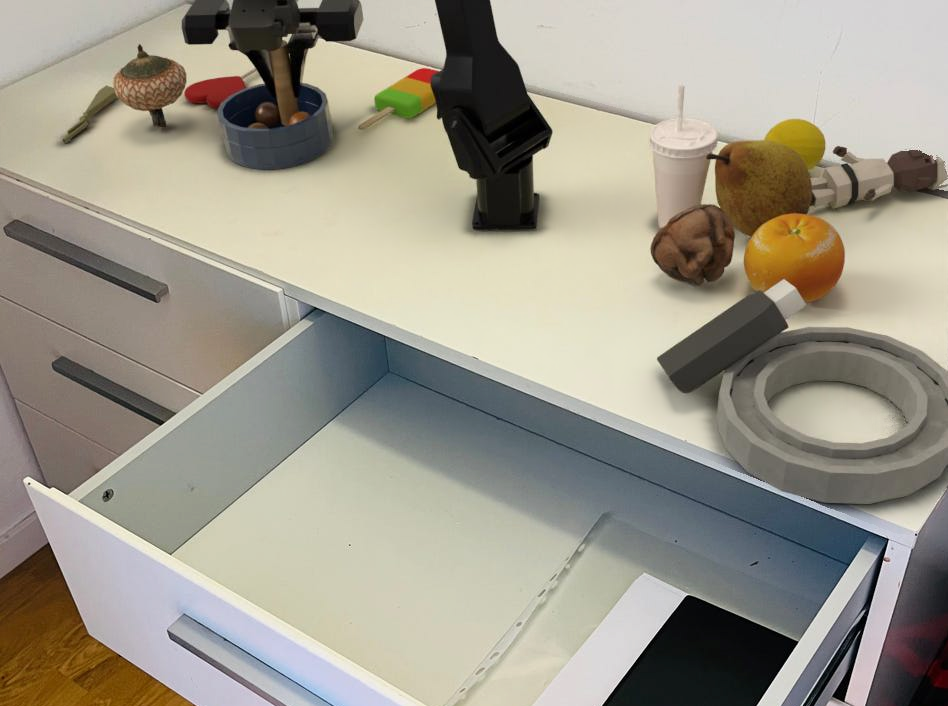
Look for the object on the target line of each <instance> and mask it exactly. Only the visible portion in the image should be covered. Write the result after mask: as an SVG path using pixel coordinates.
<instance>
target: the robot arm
mask: <svg viewBox="0 0 948 706" xmlns="http://www.w3.org/2000/svg"><path fill="white" fill-rule="evenodd" d="M298 2H299V0H233V1H232V3H231V7H230V3H229V1H227V0H194V1H193V2H192V4H191V5H190V6H189V8H188V9H187V11H186V13H185V15H184V16H183V17H182V19H181V31H182V35H183V39H184V43H185V44H187V45H189V46H190V45H195V46H196V45H197V46H198V45H213V44H214V42H215V41H216V39H217V38H218V36H219V35H220V34H219V31H227V33H228V38H229V43H228V48H229V50H231V51H238V52H239V53H241V54H243V55H244V56H245V57H247V59H248V60H249V61H250V62H251V64H252V65H253V66H254V69H255V68H256V70H257V71H256V72H257V73H258V75H259V76H260V79H261V80H262V81H263V84H264V83H265V85H266V87H267V88H268V90H269V92H270V94H271V95H272V97H273V98H277V96H276V91H275V85H274V80H273V74H272V69H271V64H270V58H269V53H268V51H275V50H277V49H279V48H280V47H281V45H282V40H283V38H287V37H288V36H289V35H290V38H289V39H288V41H287V46H286V47H287V49H288V52H289V56H290V64H291V77H292V87H293V92H294V96H295V98H298V97H299V95H300V91H301V85H302V83H303V80H304V79H303V78H304V73H305V67H306V61H307V55H308V52H309V49H313V48H315V47H316V45H317V43H318V40H319V39H320V38H321V39H322V40H324V41H325V42H328V43H330V42H352V41H354V40H357V37H358V35H359V32H360V30H361V27H362V25H363V22H364V13H363V6H362V3H361V1H360V0H321V2H320V4H319V6H318V7H299V5H298ZM434 3H435V8H436V11H437V17H438V21H439V26H440V30H441V34H442V38H443V39H442V40H443V43H444V48H445V59H444V64H443V68H442V69H441V70H438V71H439V72H437V73H435V74H433V75H432V76H431V89H432V92H433V94H434V97H435V101H436V103H435V104H436V119H437V120H441V121H442V126H443V128H444V131H445V133H446V136H447V139H448V142H449V144H450V147H451V150H452V153H453V155H454V159H455V162H456V164H457V167H458V169H459V170H461V171H463V172H466V173H467V174H468V175H469V178H470V179H472V180H475V182H476V183H475V184H476V199H475V204H474V208H473V209H474V210H473V215H472V220H471V221H472V222H471V228H472V230H475V231H484V230H485V231H507V230H508V231H513V230H514V231H515V230H516V231H519V230H521V231H524V230H531V231H532V230H536V229H537V228H538V220H539V209H540V198H541V197H540V194H539V192H535V186H534V155H536V154H537V153H539V152H540V151H542V150H545V149H547V148H548V147H549V145H550V143H551V139H552V136H553V133H554V131H553V129H552V127H551V125H550V124H549V122H548V121H547V119H546V118H545V117H544V115H543V114H542V113H541V111H540V109H539V108H538V107H537V105H536V104H535V102H534V101H533V99H532V98H531V97H530V95H529V93H528V90H527V88H526V84H525V81H524V78H523V75H522V72H521V69H520V65H519V64H518V61H516V60H515V58H514V57H513V56H512V55H511V54H510V52H509V51H507V49H506V47H504V46H503V44H502V43H501V42H500V40H499V38H498V33H497V27H496V24H495V18H494V12H493V8H492V3H491V0H434Z"/></svg>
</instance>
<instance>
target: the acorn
mask: <svg viewBox="0 0 948 706" xmlns="http://www.w3.org/2000/svg"><path fill="white" fill-rule="evenodd" d="M186 84H187V72H186V69H185V67H184V66H183V65H182V64H180V63H179V62H177V61H175V60H174V59H170V58H168V57H163V56H159V55H151V54H150V55H149V54H148V53H147V52H146V51H145V50H144V48H143V46H142V45H141V43H138V45H137V55H136V57H135V58H133V59H132V60H130V61H128V62H127V63H126V64H125V66H123V67H121V68H120V69H119V70H118V71H117V73H116V74H115V76H113V80H112V86H113V87H112V88H114V92H115V94H116V96H117V99H119V100H120V101H121V102H122V103H123V104H124V105H125V106H127V107H129V108H131V109H133V110H135V111H141V112H148V113H149V115H150V117H151V122H152V127H156V128H158V129H160V130H162V129H163V128H165V129H167V128H168V127H169V126H167V121H166V118H165V114H164V111H163V108H165V107H167V106H170V105H173V104H174V103H176V101H178V99H179V98H180V97H181V96H182V95H183V92H184V91H185V90H186Z"/></svg>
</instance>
